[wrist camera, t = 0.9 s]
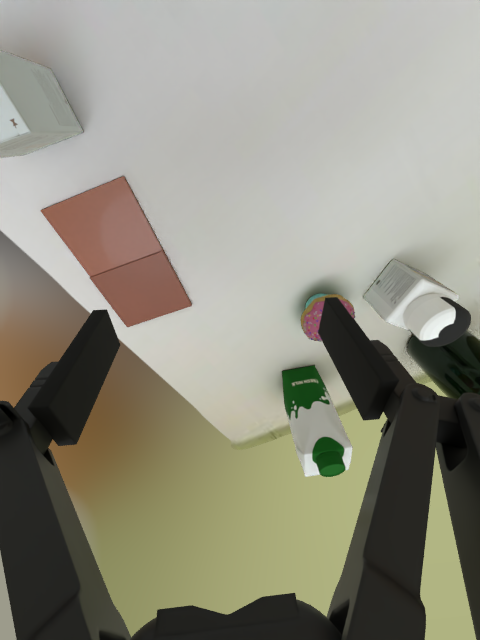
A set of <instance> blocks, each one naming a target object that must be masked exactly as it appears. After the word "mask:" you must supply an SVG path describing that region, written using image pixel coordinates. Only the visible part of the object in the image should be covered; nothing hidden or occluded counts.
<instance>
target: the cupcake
mask: <svg viewBox="0 0 480 640" xmlns="http://www.w3.org/2000/svg"><path fill="white" fill-rule="evenodd" d="M328 297H338V299H339V300H340V301H341V303H342V304H343V305H344V307H345V308H346V309H347V311H348V312H349V313H350V315H351V316H352V317H353V319H354V318H355V314H354V313H355V312H354V308H353V306H352V304H351V303H350V302H349V301H348V300H346V299H345V298H343V297H342V296H341V295H337V294H332V295H327V294H316V295H314V296H312V297H311V298H310V299H309V300H308V301H307V303H306V305H305V311H304V312H303V314H302V316H301V326H302V329H303V331H304V333H305V334H306V335H307V337H309V338H311V340H315V341H322V339H321V338H320V336H319V334H318V330H319V325H320V320H321V315H322V311H323V306H324V301H325V298H328Z"/></svg>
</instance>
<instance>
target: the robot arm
mask: <svg viewBox="0 0 480 640" xmlns="http://www.w3.org/2000/svg"><path fill="white" fill-rule="evenodd" d="M318 334H319V336H320V338H321V339H322V341H323V343H324V345H325V347H326V349H327V351H328V353H329V355H330V357H331V359H332V361H333V363H334V365H335V366H336V368H337V370H338V372H339V374H340V376H341V378H342V380H343V382H344V384H345V386H346V388H347V390H348V392H349V393H350V395H351V397H352V399H353V401H354V403H355V405H356V407H357V409H358V411H359V413H360V415H361V417H362V419H363V420H374V419H379V418H380V416H381V414H382V412H384V413H385V415H386V417H387V418H388V419H387V421H386V423H385V424H384V426H383V428H382V430H381V432H382V437H381V440H380V443H379V447H378V451H377V454H376V457H375V461H374V464H373V468H372V471H371V475H370V478H369V482H368V485H367V488H366V492H365V495H364V499H363V502H362V506H361V509H360V513H359V516H358V520H357V523H356V527H355V530H354V534H353V537H352V540H351V544H350V547H349V551H348V554H347V558H346V561H345V565H344V568H343V572H342V575H341V577H340V580H339V582H338V585H337V587H336V589H335V592H334V595H333V598H332V601H331V604H330V608H329V611H328V614H327V617H326V616H324V615H323V614H322V613H321V612H320V611H318V610H317V609H315V608H314V607H312V606H311V605H309V604H306V603H304V602H303V601H299V600H296V596H295V593H290V594H282V595H274V596H266V597H261V598H259V599H257V600H256V601H254V602H252V603H250V604H248V605H246V606H244V607H243V608H241V609H239V610H237V611H235V612H233V613H231V614H228V615H225V614H221V613H217V612H214V611H210V610H207V609H203V608H199V607H196V606H184V607H175V608H167V609H160V610H158V611H157V617H156V618H155V619H153V620H151V621H150V622H148V623H147V624H146V625H144V626H143V627H142V628H141V629H140V630H138V631H137V632H136V633H135V634H134V635H133V636H132V637H131V636H130V634H129V631H128V629H127V627H126V625H125V623H124V620H123V619H122V617H121V615H120V613H119V612H118V610H117V609H116V607H115V606H114V604H113V602H112V600H111V598H110V595H109V593H108V590H107V588H106V585H105V583H104V581H103V578H102V575H101V573H100V570H99V568H98V565H97V563H96V561H95V558H94V555H93V553H92V551H91V548H90V546H89V543H88V541H87V538H86V536H85V533H84V531H83V528H82V526H81V523H80V521H79V519H78V516H77V513H76V511H75V508H74V506H73V504H72V501H71V499H70V496H69V494H68V491H67V489H66V486H65V484H64V481H63V479H62V476H61V474H60V471H59V469H58V467H57V464H56V462H55V459H54V457H53V454H52V452H51V450H50V449H49V448H48V447H49V445H50V443H51V441H52V439H53V440H54V441H55V442H56V443H57V445H58V446H63V445H74V444H77V442H78V440H79V437H80V435H81V433H82V431H83V428H84V426H85V424H86V421H87V419H88V417H89V415H90V412H91V410H92V408H93V405H94V403H95V401H96V399H97V397H98V394H99V392H100V390H101V387H102V385H103V383H104V381H105V378H106V376H107V374H108V371H109V369H110V367H111V365H112V362H113V360H114V358H115V356H116V353H117V351H118V349H119V347H120V343H119V340H118V338H117V335H116V332H115V330H114V327H113V325H112V322H111V319H110V317H109V314H108V312H107V310H93V312H92V313H91V315H90V316H89V318H88V319H87V321H86V322H85V323H84V325H83V326H82V328H81V329H80V331H79V332H78V334H77V336H76V337H75V338H74V340H73V341H72V343H71V344H70V346H69V347H68V349H67V350H66V352H65V353H64V355H63V356H62V357H61V359H60V360H59V362H51V363H50V364H48V365H47V366H46V367H45V368H43V369H42V370H41V371H40V373H39V374H38V376H37V377H36V378H35V381H33V382H32V384H31V385H30V388H28V389H27V391H26V392H25V393H24V395H23V396H22V398H21V399H20V400H19V402H18V403H17V405H16V406H15V407H14V408H13V407H12V406H11V404H10V403H9V402H7V401H0V550H1V556H2V562H3V567H4V573H5V578H6V584H7V589H8V594H9V600H10V605H11V611H12V616H13V621H14V627H15V633H16V637H17V640H425V639H424V638H425V629H426V614H425V607H424V605H423V603H422V601H421V598H420V585H421V575H422V566H423V558H424V549H425V540H426V530H427V521H428V512H429V503H430V494H431V485H432V476H433V466H434V457H435V448H436V450H437V455H438V459H439V464H440V469H441V473H442V478H443V483H444V488H445V492H446V497H447V501H448V507H449V511H450V516H451V521H452V526H453V530H454V535H455V540H456V545H457V549H458V554H459V559H460V564H461V568H462V573H463V578H464V582H465V587H466V592H467V596H468V601H469V606H470V611H471V616H472V620H473V625H474V630H475V634H476V639H477V640H480V395H479V394H476V393H469V392H468V393H463V394H462V395H461V396H460V398H459V399H454V398H449V397H443V396H438V395H437V394H436V392H434V391H433V390H432V389H431V388H429V387H427V386H425V385H422V384H419V383H416V382H415V380H414V379H413V378H412V377H411V376H410V374H409V373H408V372H407V371H406V369H405V368H404V367H403V366H402V364H401V363H400V362H399V361H398V359H397V358H396V357H395V356H394V355H393V353H392V352H391V351H390V349H389V348H388V347H387V346H386V345H384V344H383V343H381V342H380V341H379V340H371V341H370V340H369V339H368V337H367V336H366V335H365V333H364V332H363V331H362V329H361V328H360V327H359V325H358V324H357V323H356V321H355V320H354V319H353V317H352V316H351V315H350V313H349V312H348V311H347V309H346V308H345V307H344V305H343V304H342V303H341V301H340V300H339V299H338V297H328V298H325V301H324V306H323V311H322V315H321V320H320V325H319V330H318Z"/></svg>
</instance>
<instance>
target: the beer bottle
mask: <svg viewBox="0 0 480 640" xmlns="http://www.w3.org/2000/svg"><path fill="white" fill-rule="evenodd" d="M408 353H409V355H410V356H411V358H412V359H413V360H414V361H415V362H416V363H417V365H418V366H419V367H420V368H421V369H422V370H423V371H424V372H425V373H426V374H427V375H428V377H429V378H430V379H431V380H432V381H433V382H434V383H435V384H436V385H437V386H438V387H439V388H440V389H441V391H442V392H443V393H444V394H445V395H446V396H447V397H449V398H454V399H459V398H460V396H461V395H462V394H463V393H468V392H469V393H476V394H479V395H480V339H478V338H477V337H476V336H474V335H473V334H472V333H471V332H469V331H468V330H466V332H465V333H464V334H463V335H462V336H461V337H459V338H458V339H457V340H455V341H453V342H451V343H449V344H447V345H444V346H440V347H430V346H426V345H424V344H422V343H421V342H420V341H419V340H418V339H417V338H416V337H415V336H414V335H413V336H412V338H411V339H410V341H409V343H408Z"/></svg>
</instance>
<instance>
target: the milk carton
mask: <svg viewBox="0 0 480 640" xmlns="http://www.w3.org/2000/svg"><path fill="white" fill-rule="evenodd" d="M282 377H283V392H284V404H285V409H286V413H287V417H288V421H289V425H290V429H291V433H292V436H293V440H294V443H295V446H296V453H297V455H298V458H299V460H300V462H301V465H302V467H303V471H304V474H305V476H313V475H319V474H320V475H322V476H325V477H332V476H336V475H339V474H340V473H342V472H344V471H345V470H348V469H349V464H350V463H351V454H352V445H351V443H350V441H349V439H348V437H347V434H346V432H345V430H344V427H343V425H342V423H341V421H340V418H339V416H338V414H337V411H336V409H335V407H334V405H333V402H332V400H331V398H330V396H329V393H328V391H327V389H326V387H325V385H324V383H323V381H322V379H321V377H320V375H319V373H318V371H317V369H316V367H315V365H314V366H308V367H302V368H297V369H291V370H285V371H282Z"/></svg>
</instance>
